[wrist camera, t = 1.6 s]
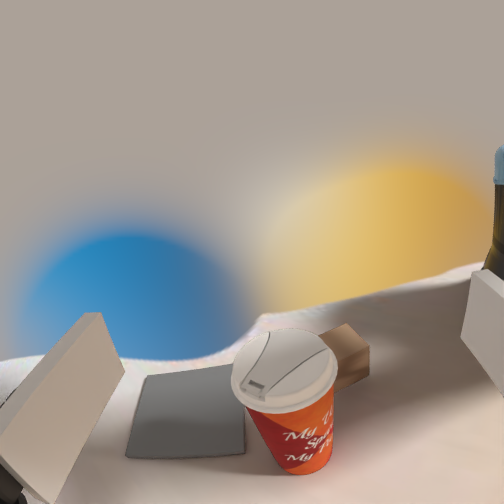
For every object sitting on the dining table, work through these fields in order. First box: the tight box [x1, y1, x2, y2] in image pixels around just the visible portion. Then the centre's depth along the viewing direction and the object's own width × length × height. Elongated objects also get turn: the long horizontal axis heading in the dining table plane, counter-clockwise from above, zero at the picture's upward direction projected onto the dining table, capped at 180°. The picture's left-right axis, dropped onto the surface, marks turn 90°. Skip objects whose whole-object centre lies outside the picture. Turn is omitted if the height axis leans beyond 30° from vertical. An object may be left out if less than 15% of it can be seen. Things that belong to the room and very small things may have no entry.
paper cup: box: [231, 328, 338, 475], centre depth 24 cm, size 8×8×14 cm
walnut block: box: [319, 323, 369, 393], centre depth 34 cm, size 5×5×5 cm
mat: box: [125, 364, 245, 458], centre depth 34 cm, size 14×14×1 cm
